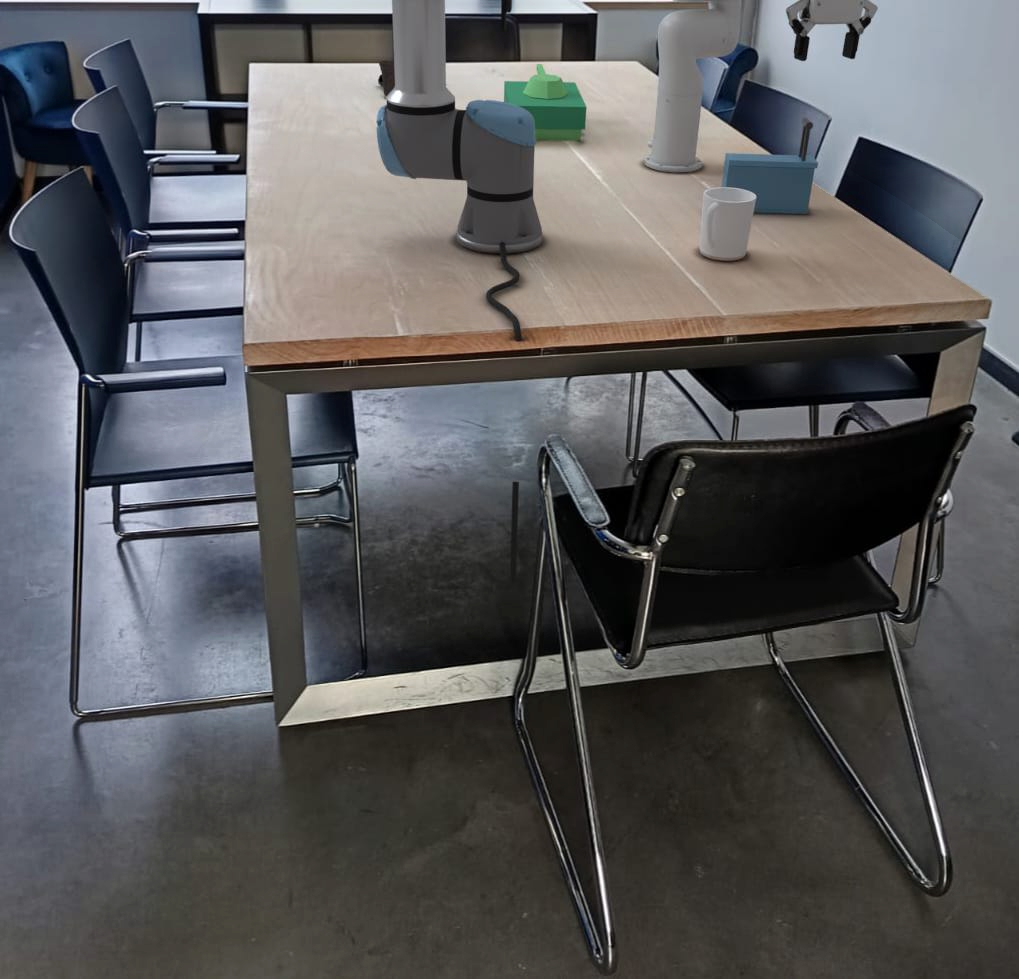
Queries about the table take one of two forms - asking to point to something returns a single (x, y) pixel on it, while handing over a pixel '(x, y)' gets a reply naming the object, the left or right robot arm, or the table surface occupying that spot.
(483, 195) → the left robot arm
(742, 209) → the mug
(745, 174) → the chest
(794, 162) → the lid
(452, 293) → the table surface
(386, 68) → the axe head
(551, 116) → the toy tank
